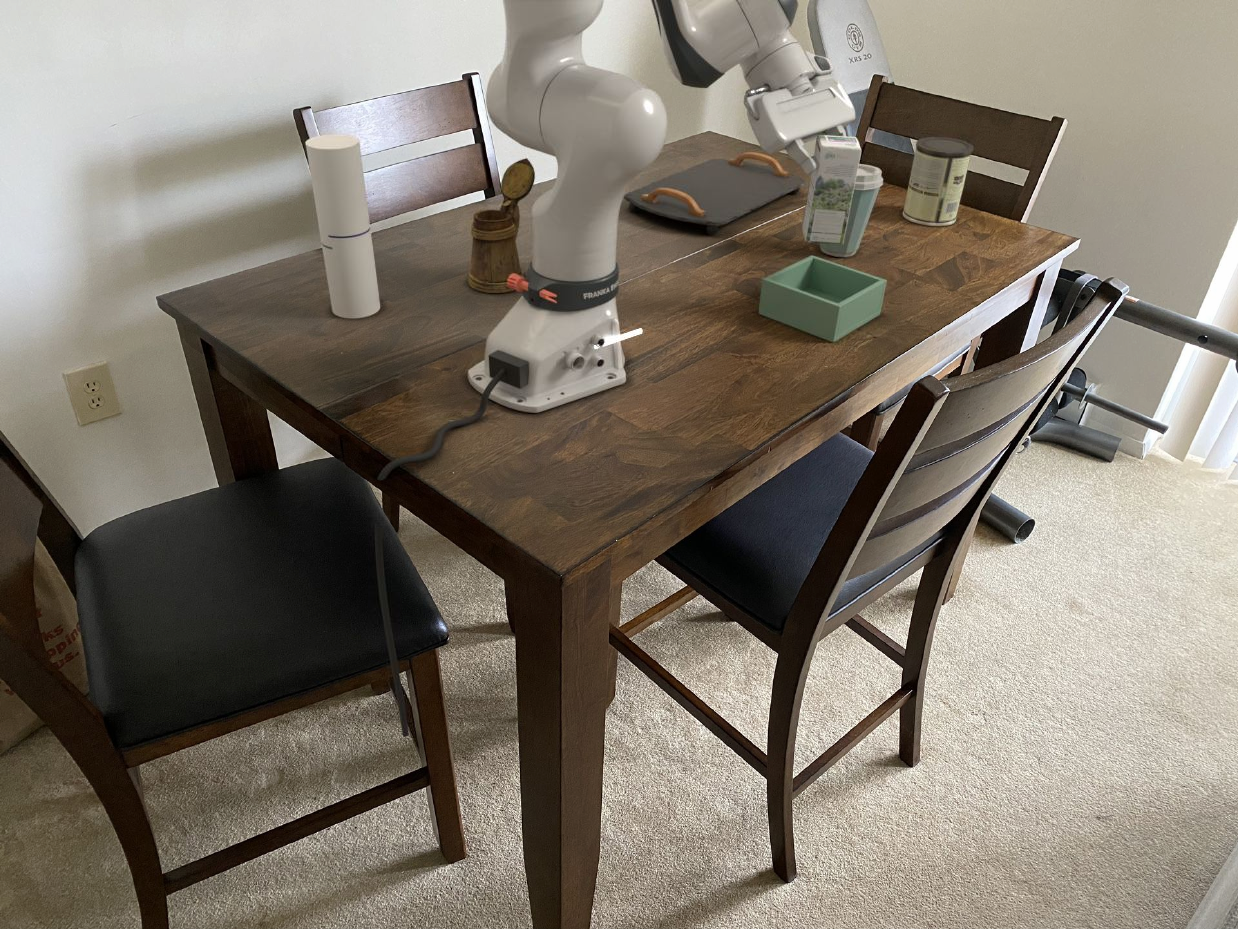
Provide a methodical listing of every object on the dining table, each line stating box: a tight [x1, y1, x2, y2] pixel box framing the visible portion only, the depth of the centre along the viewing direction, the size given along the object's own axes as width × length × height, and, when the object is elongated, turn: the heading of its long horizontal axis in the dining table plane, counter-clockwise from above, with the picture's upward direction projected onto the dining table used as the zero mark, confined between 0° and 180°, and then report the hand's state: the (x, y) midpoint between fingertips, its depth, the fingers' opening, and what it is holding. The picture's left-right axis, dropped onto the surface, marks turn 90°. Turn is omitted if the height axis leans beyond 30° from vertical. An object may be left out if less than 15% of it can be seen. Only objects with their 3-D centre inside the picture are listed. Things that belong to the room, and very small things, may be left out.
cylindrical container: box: [305, 133, 381, 319], centre depth 136 cm, size 7×7×25 cm
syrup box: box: [801, 135, 862, 245], centre depth 136 cm, size 6×6×14 cm
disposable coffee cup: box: [818, 163, 884, 258], centre depth 163 cm, size 11×11×15 cm
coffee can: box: [902, 136, 974, 227], centre depth 179 cm, size 10×10×14 cm
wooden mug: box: [467, 157, 536, 294], centre depth 149 cm, size 9×14×18 cm, turn 146°
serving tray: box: [623, 151, 807, 237], centre depth 185 cm, size 39×23×6 cm, turn 142°
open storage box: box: [758, 255, 888, 343], centre depth 144 cm, size 14×14×6 cm
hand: (830, 164), depth 134 cm, fingers closed on syrup box, 7 cm apart
